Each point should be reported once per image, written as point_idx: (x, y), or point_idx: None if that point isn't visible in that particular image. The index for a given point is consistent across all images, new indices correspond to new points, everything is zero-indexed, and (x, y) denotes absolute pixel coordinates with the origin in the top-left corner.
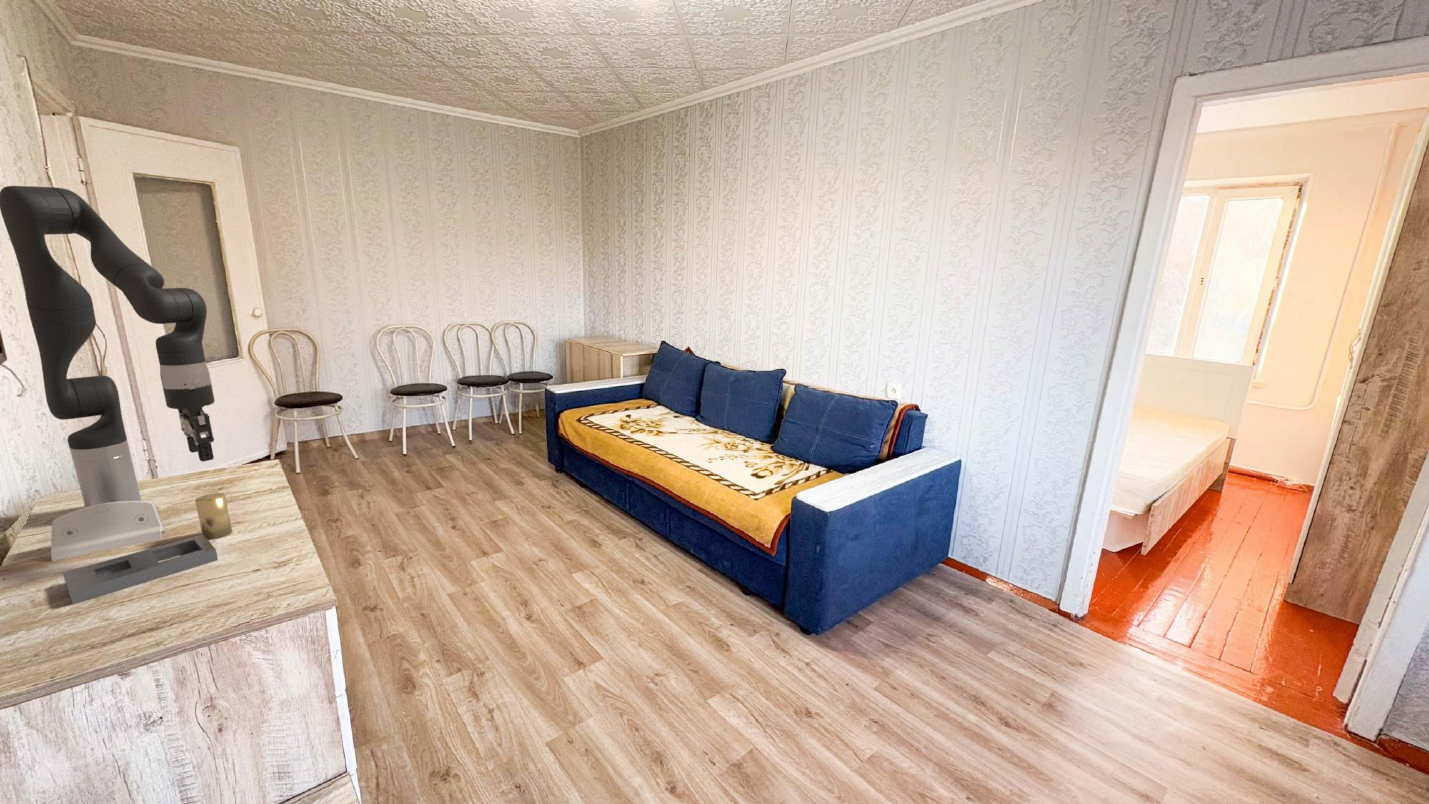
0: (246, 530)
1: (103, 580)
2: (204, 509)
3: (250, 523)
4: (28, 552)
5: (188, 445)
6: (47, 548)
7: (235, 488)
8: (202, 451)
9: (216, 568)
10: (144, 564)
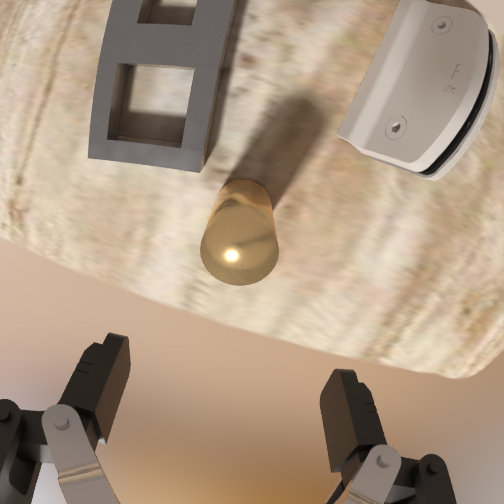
0: None
1: None
2: (217, 214)
3: None
4: None
5: (356, 397)
6: None
7: (446, 325)
8: (70, 378)
9: (68, 139)
10: (131, 42)
